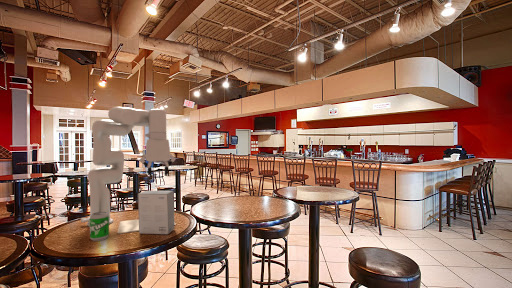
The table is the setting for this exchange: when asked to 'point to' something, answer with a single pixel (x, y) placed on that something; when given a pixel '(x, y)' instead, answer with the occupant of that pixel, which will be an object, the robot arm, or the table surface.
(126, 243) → the table surface
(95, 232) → the soda can
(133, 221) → the board
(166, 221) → the hard drive box
